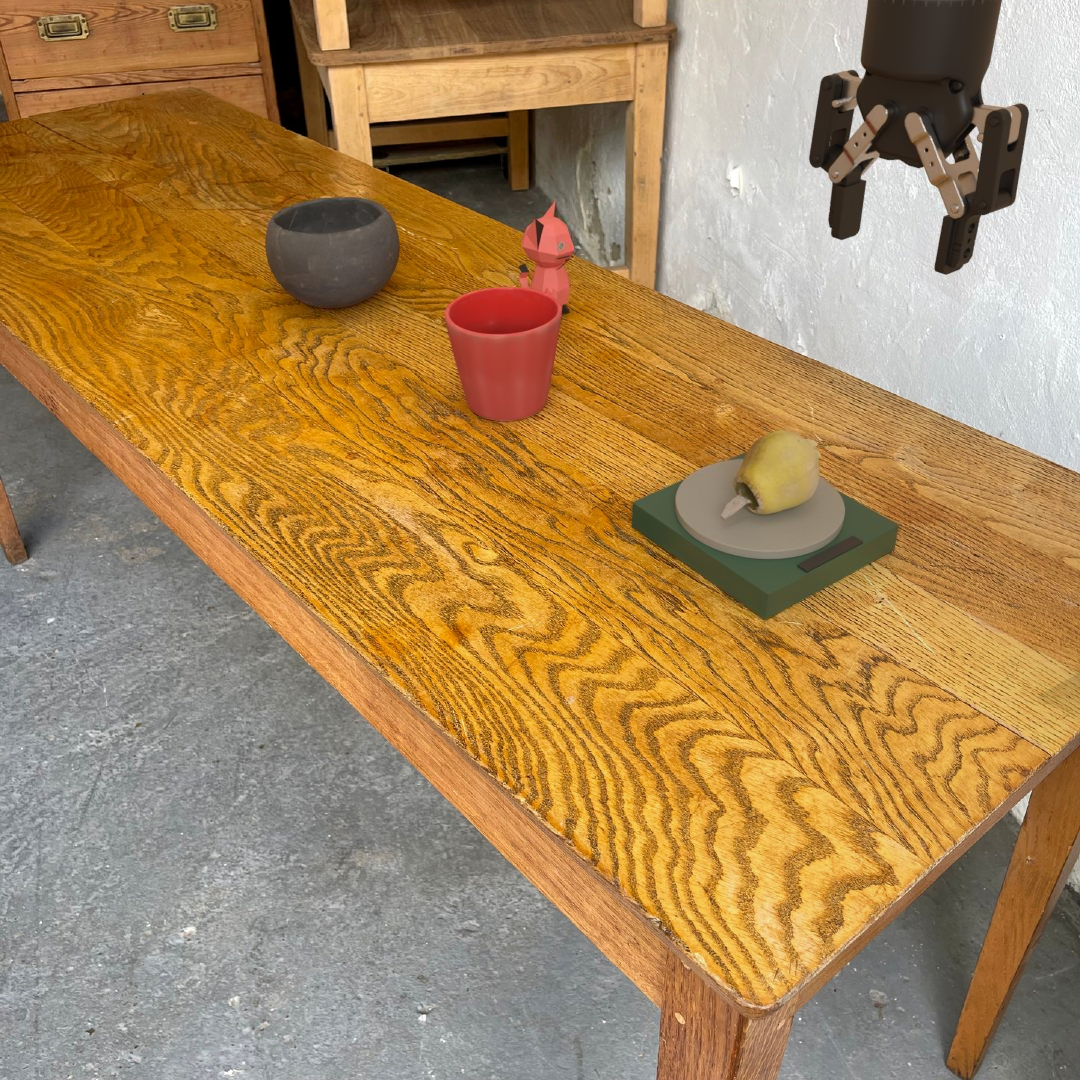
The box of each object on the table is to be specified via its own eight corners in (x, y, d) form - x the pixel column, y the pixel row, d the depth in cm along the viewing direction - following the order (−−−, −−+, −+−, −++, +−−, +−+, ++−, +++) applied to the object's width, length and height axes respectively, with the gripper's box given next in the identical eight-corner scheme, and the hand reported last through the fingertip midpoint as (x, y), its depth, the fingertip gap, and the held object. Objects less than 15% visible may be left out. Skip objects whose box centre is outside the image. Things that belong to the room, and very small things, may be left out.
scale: (894, 550, 86) (901, 516, 84) (765, 620, 79) (769, 585, 77) (756, 469, 96) (759, 437, 94) (631, 526, 89) (632, 493, 87)
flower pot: (585, 409, 105) (584, 314, 100) (484, 441, 101) (478, 344, 95) (529, 367, 113) (525, 276, 107) (432, 396, 108) (424, 303, 103)
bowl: (316, 337, 120) (302, 248, 114) (253, 297, 130) (237, 213, 124) (429, 300, 127) (422, 215, 122) (362, 264, 137) (352, 184, 131)
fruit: (690, 513, 85) (769, 449, 90) (751, 561, 83) (829, 492, 87) (705, 464, 80) (788, 399, 85) (770, 513, 78) (851, 443, 83)
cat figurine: (565, 332, 119) (564, 223, 112) (507, 323, 122) (502, 216, 115) (587, 306, 125) (587, 201, 118) (531, 299, 127) (528, 195, 120)
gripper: (1086, -11, 61) (1022, 269, 71) (880, -36, 71) (848, 214, 80) (1004, 7, 58) (948, 299, 67) (800, -21, 67) (776, 238, 77)
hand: (894, 252), depth 74 cm, fingers open, 8 cm apart
